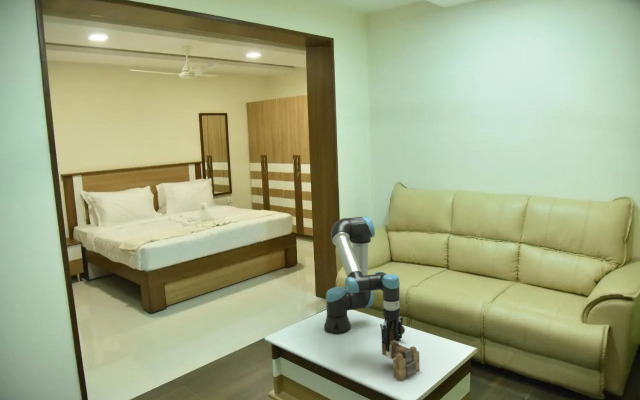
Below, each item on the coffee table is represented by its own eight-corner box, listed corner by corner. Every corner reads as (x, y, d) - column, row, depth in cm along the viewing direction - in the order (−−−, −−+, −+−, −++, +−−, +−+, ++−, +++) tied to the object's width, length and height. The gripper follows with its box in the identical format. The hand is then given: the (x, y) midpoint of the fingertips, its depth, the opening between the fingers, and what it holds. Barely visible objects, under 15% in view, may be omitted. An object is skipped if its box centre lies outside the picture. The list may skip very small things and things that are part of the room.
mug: (409, 340, 234) (408, 323, 233) (400, 345, 229) (400, 328, 228) (390, 333, 243) (390, 317, 242) (382, 338, 238) (381, 321, 237)
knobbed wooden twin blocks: (393, 377, 199) (392, 353, 198) (412, 366, 208) (412, 343, 206) (402, 381, 195) (401, 357, 194) (421, 371, 204) (421, 347, 202)
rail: (382, 354, 210) (381, 342, 209) (387, 351, 213) (387, 339, 212) (406, 365, 199) (406, 352, 198) (412, 362, 201) (411, 349, 200)
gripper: (384, 315, 196) (386, 364, 200) (409, 305, 207) (410, 352, 210) (372, 310, 202) (373, 358, 205) (397, 301, 213) (398, 347, 216)
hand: (392, 355), depth 208 cm, fingers closed on rail, 4 cm apart
